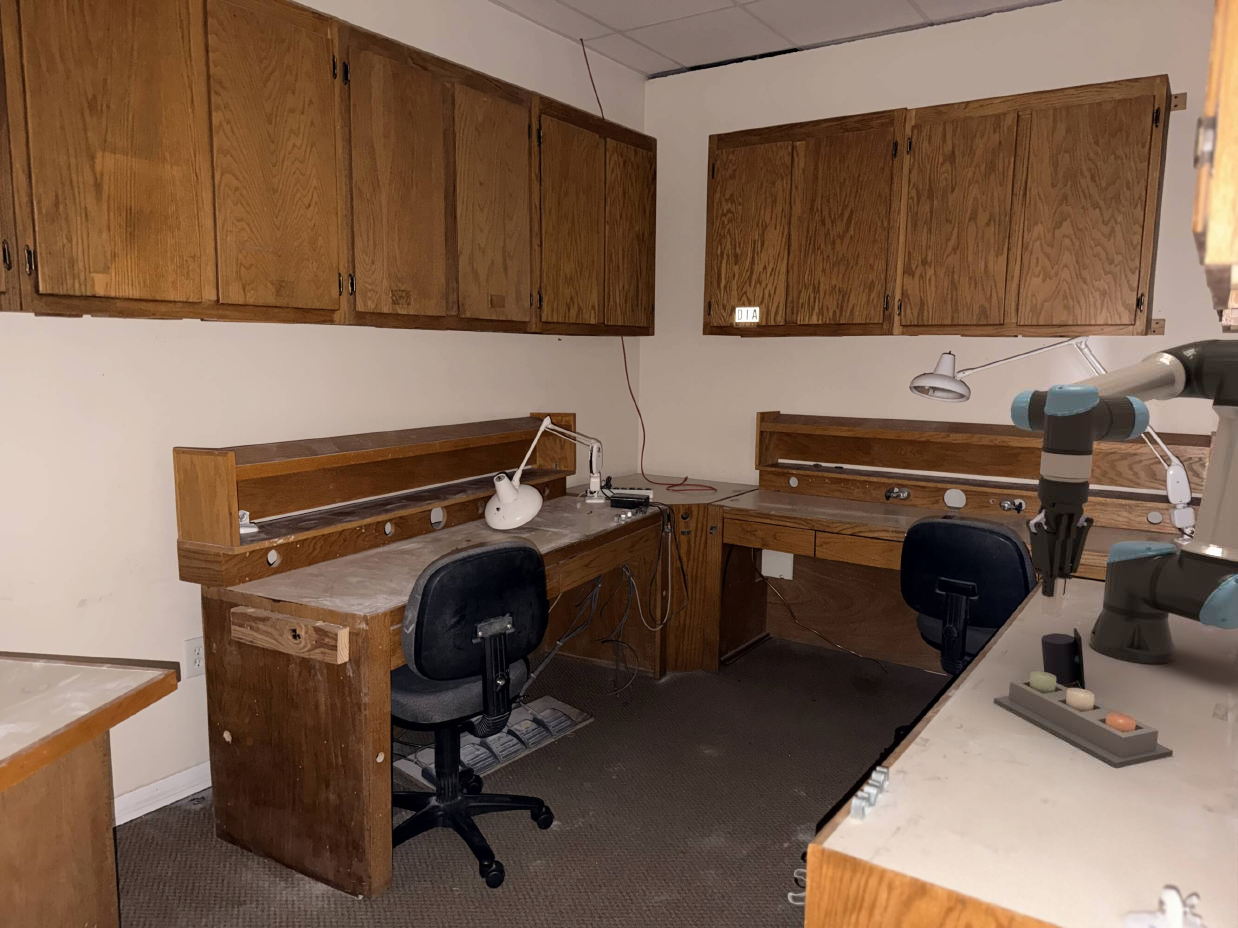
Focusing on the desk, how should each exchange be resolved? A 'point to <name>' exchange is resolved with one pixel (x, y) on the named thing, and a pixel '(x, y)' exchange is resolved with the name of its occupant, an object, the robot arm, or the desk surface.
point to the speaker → (1064, 658)
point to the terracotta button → (1120, 722)
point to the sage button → (1043, 681)
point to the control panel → (1083, 725)
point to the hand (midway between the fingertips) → (1051, 614)
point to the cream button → (1080, 699)
